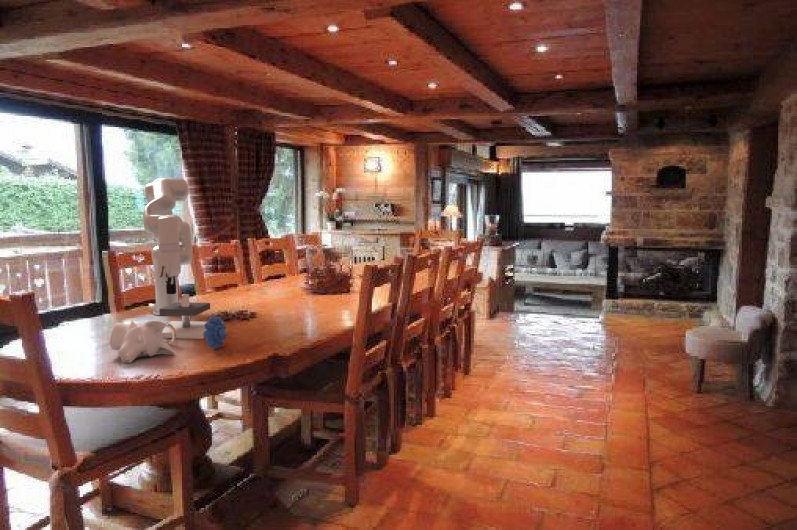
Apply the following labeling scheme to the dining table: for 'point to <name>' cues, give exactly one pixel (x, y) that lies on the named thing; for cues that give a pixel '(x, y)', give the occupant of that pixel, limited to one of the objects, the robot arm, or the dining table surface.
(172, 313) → the square hole plate
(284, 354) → the dining table surface
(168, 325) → the ring
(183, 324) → the glossy pinkish cylinder
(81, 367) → the dining table surface
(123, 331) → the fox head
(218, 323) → the grapes
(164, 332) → the stand plate
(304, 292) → the dining table surface
